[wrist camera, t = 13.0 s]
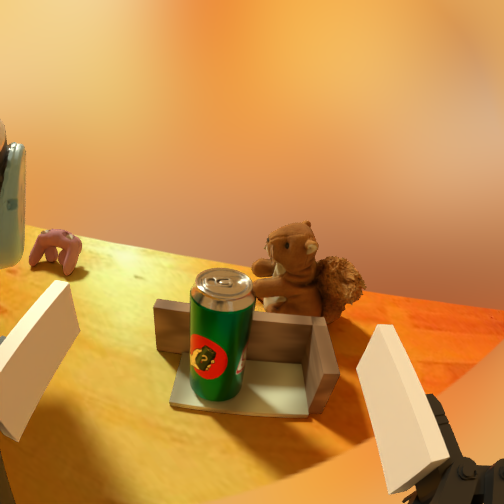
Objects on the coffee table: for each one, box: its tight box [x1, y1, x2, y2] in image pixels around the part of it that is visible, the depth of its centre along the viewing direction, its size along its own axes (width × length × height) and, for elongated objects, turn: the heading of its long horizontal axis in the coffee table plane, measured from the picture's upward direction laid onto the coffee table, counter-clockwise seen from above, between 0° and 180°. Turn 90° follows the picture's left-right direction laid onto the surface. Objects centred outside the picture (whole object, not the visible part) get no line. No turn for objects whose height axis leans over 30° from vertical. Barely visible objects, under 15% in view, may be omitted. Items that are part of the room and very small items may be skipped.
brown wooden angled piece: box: [153, 299, 340, 418], centre depth 28 cm, size 18×9×6 cm, turn 89°
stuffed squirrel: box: [252, 220, 366, 324], centre depth 38 cm, size 10×14×13 cm
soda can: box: [189, 268, 256, 402], centre depth 25 cm, size 5×5×12 cm
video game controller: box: [29, 229, 82, 276], centre depth 43 cm, size 10×5×7 cm, turn 84°
